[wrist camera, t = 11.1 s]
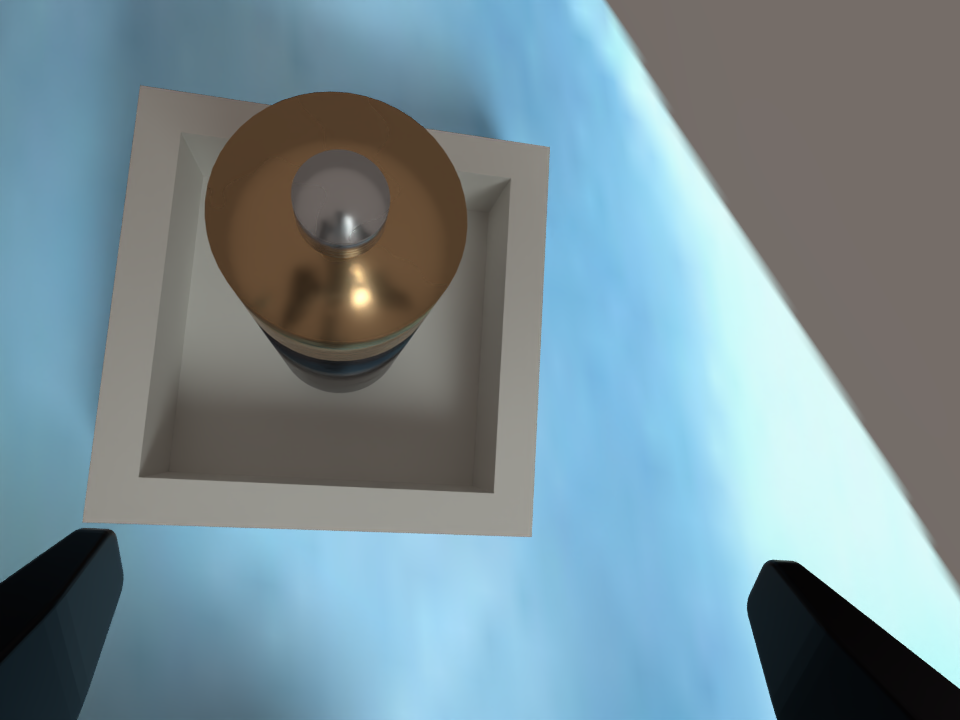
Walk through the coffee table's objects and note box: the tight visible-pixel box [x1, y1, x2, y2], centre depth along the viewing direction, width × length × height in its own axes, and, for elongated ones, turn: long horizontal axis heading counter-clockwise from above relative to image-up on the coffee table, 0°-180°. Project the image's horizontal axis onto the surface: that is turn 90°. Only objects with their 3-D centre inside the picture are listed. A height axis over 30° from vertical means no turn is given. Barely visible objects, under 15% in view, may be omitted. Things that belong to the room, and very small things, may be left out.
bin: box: [83, 85, 550, 537], centre depth 21 cm, size 12×12×4 cm
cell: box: [205, 92, 467, 393], centre depth 16 cm, size 4×4×13 cm
